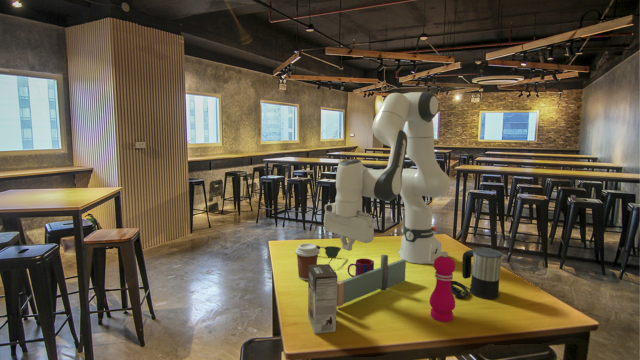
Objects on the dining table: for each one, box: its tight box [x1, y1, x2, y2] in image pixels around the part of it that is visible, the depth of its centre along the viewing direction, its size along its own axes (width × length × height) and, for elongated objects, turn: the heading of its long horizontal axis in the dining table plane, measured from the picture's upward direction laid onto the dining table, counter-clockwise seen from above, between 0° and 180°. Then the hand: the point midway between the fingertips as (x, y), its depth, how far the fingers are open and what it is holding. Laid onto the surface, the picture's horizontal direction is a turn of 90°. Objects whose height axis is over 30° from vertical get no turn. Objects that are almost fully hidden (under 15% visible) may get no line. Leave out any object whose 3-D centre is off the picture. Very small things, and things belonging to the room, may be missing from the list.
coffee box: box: [307, 263, 338, 335], centre depth 100 cm, size 9×6×16 cm
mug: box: [347, 257, 375, 278], centre depth 132 cm, size 7×10×7 cm
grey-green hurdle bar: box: [337, 267, 383, 307], centre depth 116 cm, size 21×2×7 cm, turn 131°
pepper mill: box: [429, 250, 456, 323], centre depth 105 cm, size 7×7×20 cm
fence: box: [334, 254, 407, 291], centre depth 119 cm, size 37×2×12 cm, turn 131°
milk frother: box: [451, 247, 504, 300], centre depth 121 cm, size 14×16×15 cm
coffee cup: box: [294, 243, 320, 281], centre depth 134 cm, size 9×9×12 cm
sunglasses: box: [315, 244, 342, 264], centre depth 150 cm, size 16×17×5 cm
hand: (347, 249), depth 119 cm, fingers closed
